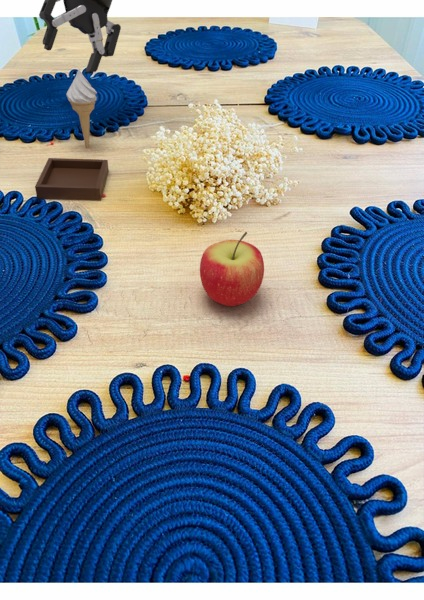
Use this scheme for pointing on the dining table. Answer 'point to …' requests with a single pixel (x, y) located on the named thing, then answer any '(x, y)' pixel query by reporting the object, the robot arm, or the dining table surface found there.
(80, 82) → the ice cream cone
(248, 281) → the apple
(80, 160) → the tray
